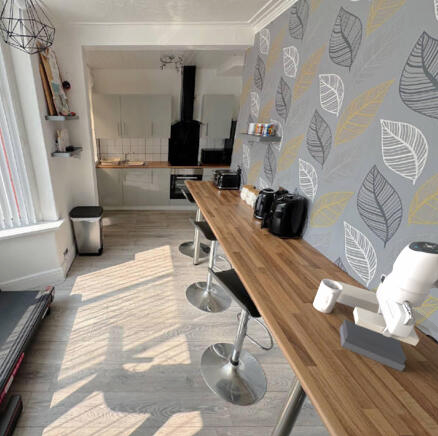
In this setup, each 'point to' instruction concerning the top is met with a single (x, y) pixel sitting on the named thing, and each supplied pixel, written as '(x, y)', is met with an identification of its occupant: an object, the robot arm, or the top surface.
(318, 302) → the mug
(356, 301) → the white rectangular block
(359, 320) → the cream rectangular block
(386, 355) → the grey rectangular block
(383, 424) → the top surface
